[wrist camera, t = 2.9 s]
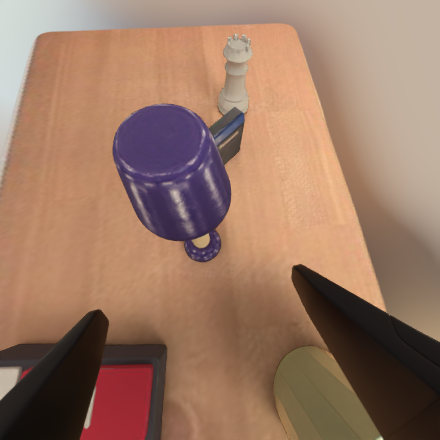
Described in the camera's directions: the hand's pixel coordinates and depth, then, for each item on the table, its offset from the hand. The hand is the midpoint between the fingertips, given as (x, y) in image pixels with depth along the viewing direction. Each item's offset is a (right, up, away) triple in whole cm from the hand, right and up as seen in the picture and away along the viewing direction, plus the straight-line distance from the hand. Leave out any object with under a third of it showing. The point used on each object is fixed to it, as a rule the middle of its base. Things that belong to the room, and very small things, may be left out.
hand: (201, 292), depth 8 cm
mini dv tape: (0, +10, +16) cm, 19 cm away
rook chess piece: (+3, +20, +18) cm, 27 cm away
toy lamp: (-1, +1, +13) cm, 13 cm away
